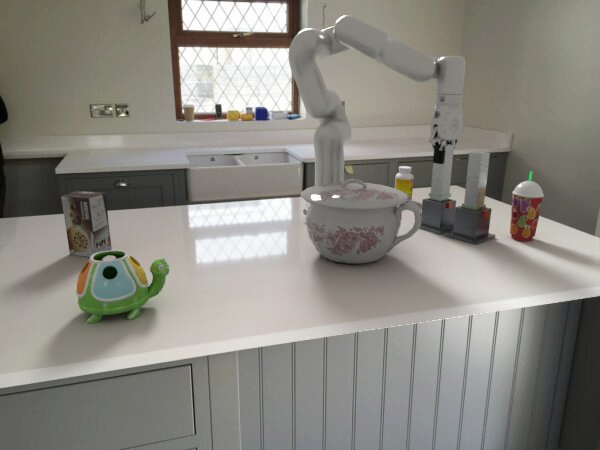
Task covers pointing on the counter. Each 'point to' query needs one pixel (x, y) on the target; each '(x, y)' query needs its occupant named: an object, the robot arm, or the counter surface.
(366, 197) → the chamber pot
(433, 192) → the column
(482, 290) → the counter surface
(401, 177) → the supplement bottle
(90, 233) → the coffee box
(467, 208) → the twin stand
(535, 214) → the smoothie
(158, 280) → the turtle holder
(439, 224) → the stand sleeve
